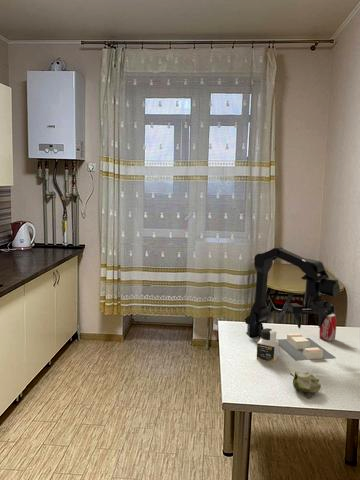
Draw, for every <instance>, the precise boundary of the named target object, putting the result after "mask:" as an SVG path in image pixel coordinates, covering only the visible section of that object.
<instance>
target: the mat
mask: <svg viewBox="0 0 360 480" xmlns="http://www.w3.org/2000/svg"><path fill="white" fill-rule="evenodd" d="M305 338H306V339H307V340H308V341H310V347H318V348H319V349H321V350H322V351H323V357H322V359H321V360H328V359H329V360H331V359H337V357H336V356H334V355H333V354H332V353H331V352H329V351H327V350H326V349H325V348H324V347H322V346H321V345H320V344H318V343H316V341H314V340H313V339H311V338H310V337H305ZM276 340H278V341H279V347H280V348H281V349H282V350H283V351H284V352H285V353H286V354H287V355H289V356H290V357H291V358H292V359H293V360H294V361H295V362H300V361H313V360H314V361H315V360H318V359H308V358H307V357H306V356H304V355H303V349H296V348H295V347H294V346H292V345H291V344H290V343H289V342H288V341H287V338H281V339H278V338H276Z"/></svg>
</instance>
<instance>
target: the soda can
mask: <svg viewBox="0 0 360 480" xmlns="http://www.w3.org/2000/svg"><path fill="white" fill-rule="evenodd" d="M336 333H337V317H336V314H335V313H332V314H331V315H328V316H327V317H326V319H325V320H324V322H323V324H322V326H321V328H319V338H320V339H321V340H323V341H327V342H332V341H335V339H336Z"/></svg>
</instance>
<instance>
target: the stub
mask: <svg viewBox="0 0 360 480" xmlns="http://www.w3.org/2000/svg"><path fill="white" fill-rule="evenodd" d="M303 355H304V356H306V357H307V358H308V359H317V360H323V359H322V357H323V351H322V350H321V349H319V348H318V347H303Z"/></svg>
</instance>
